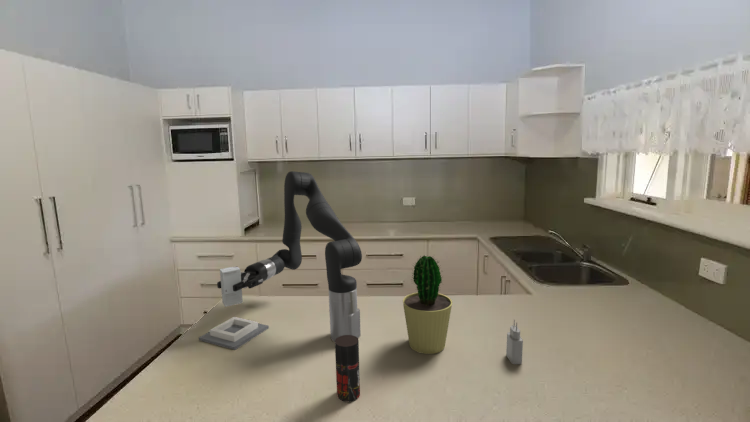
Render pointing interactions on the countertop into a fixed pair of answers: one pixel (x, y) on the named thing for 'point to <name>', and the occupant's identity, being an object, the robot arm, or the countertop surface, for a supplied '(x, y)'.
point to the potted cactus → (427, 309)
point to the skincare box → (230, 286)
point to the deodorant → (347, 368)
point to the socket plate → (233, 333)
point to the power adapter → (514, 345)
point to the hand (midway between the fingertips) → (225, 287)
